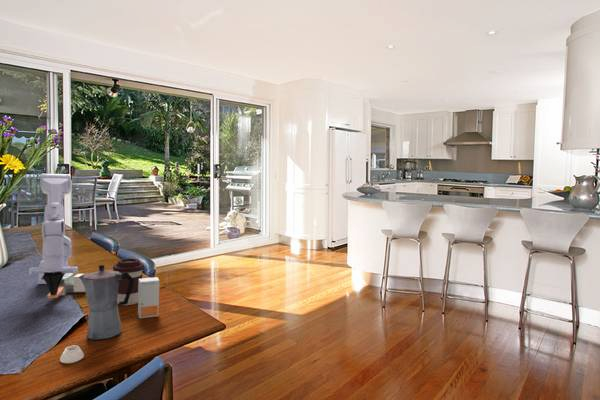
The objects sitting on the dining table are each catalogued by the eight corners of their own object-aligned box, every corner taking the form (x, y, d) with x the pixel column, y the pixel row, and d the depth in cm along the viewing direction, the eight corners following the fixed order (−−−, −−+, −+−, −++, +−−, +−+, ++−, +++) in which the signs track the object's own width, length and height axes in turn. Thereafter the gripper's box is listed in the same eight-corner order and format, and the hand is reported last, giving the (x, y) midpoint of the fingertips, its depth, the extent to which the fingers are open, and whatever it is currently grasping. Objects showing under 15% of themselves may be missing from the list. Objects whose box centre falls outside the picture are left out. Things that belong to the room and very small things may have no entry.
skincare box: (138, 319, 121) (139, 282, 120) (137, 314, 125) (138, 278, 124) (159, 316, 124) (159, 280, 123) (157, 312, 128) (157, 276, 127)
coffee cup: (146, 297, 141) (146, 257, 140) (139, 307, 131) (140, 263, 130) (117, 297, 139) (117, 257, 138) (108, 307, 129) (109, 263, 128)
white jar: (79, 352, 99) (57, 359, 95) (79, 341, 98) (57, 348, 95) (86, 359, 95) (64, 367, 92) (86, 348, 95) (64, 355, 91)
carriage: (73, 291, 142) (73, 276, 141) (77, 288, 146) (77, 273, 145) (85, 291, 142) (85, 276, 142) (89, 288, 146) (89, 273, 146)
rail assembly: (57, 295, 139) (57, 279, 138) (66, 288, 147) (66, 273, 146) (112, 294, 142) (112, 278, 142) (118, 287, 150) (118, 272, 150)
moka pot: (86, 326, 114) (86, 260, 112) (139, 327, 115) (140, 261, 114) (69, 341, 104) (69, 268, 103) (128, 341, 106) (128, 270, 104)
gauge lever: (47, 298, 131) (47, 294, 131) (56, 287, 138) (56, 284, 138) (57, 298, 132) (56, 294, 131) (66, 287, 139) (65, 284, 139)
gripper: (24, 257, 126) (24, 298, 127) (72, 257, 129) (72, 296, 130) (34, 253, 133) (34, 291, 134) (80, 253, 136) (80, 290, 137)
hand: (53, 294), depth 132 cm, fingers closed, pressing on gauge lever
